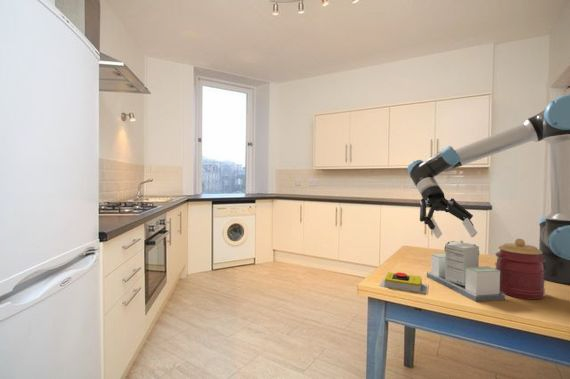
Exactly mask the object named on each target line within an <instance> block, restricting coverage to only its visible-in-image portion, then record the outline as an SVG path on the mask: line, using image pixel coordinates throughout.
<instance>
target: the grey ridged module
mask: <svg viewBox="0 0 570 379" xmlns="http://www.w3.org/2000/svg"><path fill="white" fill-rule="evenodd" d="M457 242H458V243H451V244H447V243H445V245H446V248H445V247H444V252H445V253H444V254H445V279H446V280H448V281H451V282H454V283H457V284H460V285H463V286H465V280H466V267H480V266H479V260H480V258H479V256H480V246H478V245H476V244H475V245H476V246H475V245H470V244H471V243H469V244H465V243H466V242H463V243H460V241H457Z"/></svg>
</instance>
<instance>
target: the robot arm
mask: <svg viewBox="0 0 570 379" xmlns="http://www.w3.org/2000/svg"><path fill="white" fill-rule="evenodd" d="M540 141H545V142H546V143H547V144H549V145H548V147H549V151H548V153H549V174H550V176H549V179H550V180H549V181H550V213H549V214H548V215H547V216H541V218H540V219H539V245H538V246H539V247H538V249H539V250H541V251H542V252H543V253H542V254H541V256H542V257H543V258H545V259H546V261H545V262H544V263H543V266H544V269H545V280H546V281H549V282H554V283H560V284H564V285H565V284H566V285H570V94H564V95H561V96H559V97H557V98H554V99H553V100H551V101H550V102H549V103H548V104H547V105H546V107H545V108H544V109H543V110H542V111H540V112H539V113H537V114H535V115H533V116H531V117H529V118H526V119H525V120H524V122H523V123H520V124H518V125H515V126H513V127H510V128H507V129H505V130H502V131H499V132H498V133H495V134H492V135H490V136H487V137H484V138H482V139H479V140H476V141H474V142H472V143H469V144H466V145H464V146H461V147H458V148H456V149H454V148H453V146H452V145H448V146H447V147H445V148H442V149H441V150H439V152H437V153H435V154H434V155H433V156H431V157H429V158H428V159H426V160H422V159H417V160H413V161H412V162H410V163H409V165H408V167H407V172H408V174H409V177H410V179H411V180H412V182H413V184H414V185H415V187H416V189H417V190H418V192H419V194H420V195H421V199H420V201H419V202H418V204H419V222H423V224H425V225H427V226H428V228H429V229H430V230H431V231H432V232H433V234H434V236H435V238H436V239H439V238H440V237H441V236H442V235H443V232H442V231H441V229H440V227H439V225H438V223H437V222H436V220H435V218H432V217H433V216H434V213H435V212H439V211H440V212H445V213H449V214H451V215H452V216H453V217H455V218H457V219H458V220H460V221H462V223H461V224H462V225H463V227H464V228H465V229H466V231H467V233H468V234H469V236H470V237H471V238H474V237H475V236H476V235H477V234H478V231H477V229H476V228H475V226H474V223H473V222H472V220H471V219H472V218H473V217H474V215H473V214H472V213H470V212H469V211H468V210H467V209H465V207H463V206H462V205H461V204H460V203H458V202H457V201H456V200H455V199H454V198H450V199H447V198H446V197H445V193H444V191H443V190H442V188H441V187H440V185H439V183H438V182H437V180H436V179H435V178H434V177H437V176H439V175H440V174H442V173H443V172H451V171H453V170H454V169H457V168H459V167H462V166H465V165H468V164H471V163H473V162H476V161H479V160H482V159H484V158H488V157H490V156H492V155H495V154H496V155H497V154H499V153H502V152H504V151H507V150H510V149H513V148H515V147H519V146H520V145H524V144H527V143H529V142H535V143H538V142H540ZM427 206H428V207H429V209H428V210H429V211H428V213H427ZM545 280H544V281H545Z"/></svg>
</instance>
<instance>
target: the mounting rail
mask: <svg viewBox="0 0 570 379" xmlns="http://www.w3.org/2000/svg"><path fill="white" fill-rule="evenodd" d="M426 277H427V278H429V279H431V280H432V281H434V282H436V283H438V284H441V285H442V286H444V287H446V288H448V289H450V290H452V291H454V292H456V293H458V294H460V295H462V296H464V297H466V298H467V299H469V300H471V299H472V301H474V302H477V303H478V302H492V301H493V300H495V301H505V300H506V294H505V293H502V292H500V291H499V294H490V295H477V294H475V293H472V292H470V291H468V290H466V289H465V286H463V285H460V284H457V283H454V282H451V281H448V280H446V279H445V277H439V276H437V275H435V274H433V273H431V271H426Z"/></svg>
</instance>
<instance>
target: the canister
mask: <svg viewBox="0 0 570 379" xmlns="http://www.w3.org/2000/svg"><path fill="white" fill-rule="evenodd" d="M498 249H499V251H497V252H495V253H494V254H495V256H496V257H497V258H496V262H495V263H494V265H495V269H497V270H500V292H502V293H505V296H510V297H515V298H520V299H526V300H541V299H544V296H545V294H546V293H545V291H546V288H545V269H544V266H543V263H544V262H545V261H546V259H545V258H543V257H542V256H541V254H542V253H543V252H542V251H541V250H539V248H538V247H537V246H534V245H531V244H526V242H525V240H524V239H522V238H517V239H515V241H514V243H512V242H507V243H503V244H502V245H499V246H498Z"/></svg>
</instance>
